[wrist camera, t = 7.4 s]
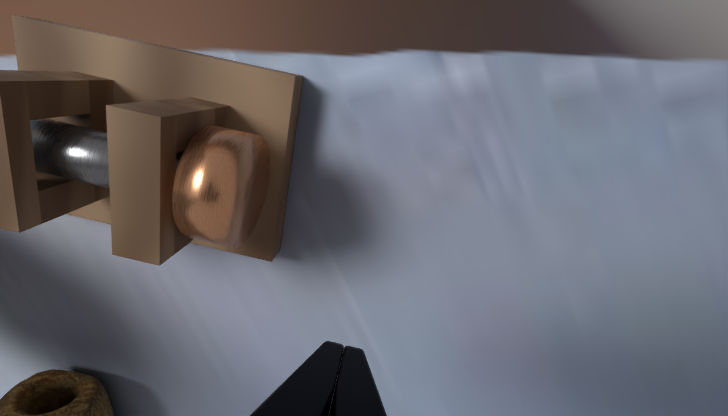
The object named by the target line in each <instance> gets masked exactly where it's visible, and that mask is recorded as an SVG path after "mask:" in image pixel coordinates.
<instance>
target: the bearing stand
mask: <svg viewBox="0 0 728 416" xmlns="http://www.w3.org/2000/svg"><path fill="white" fill-rule="evenodd" d="M12 23H13V31H14V39H15V47H16V56H17V64H18V71H13V70H0V228H2V229H6V230H10V231H14V232H19V233H20V232H22V231H25V230H27V229H30V228H32V227H35V226H37V225H40V224H42V223H45V222H47V221H50V220H52V219H54V218H57V217H59V216H62V215H64V214H68V215H73V216H77V217H81V218H86V219H90V220H94V221H99V222H103V223H107V224H111V232H112V255H117V256H121V257H125V258H129V259H134V260H138V261H142V262H147V263H151V264H155V265H159V266H160V265H161V264H162V263H164V262H165V261H166V260H167V259H169V258H170V257H171V256H173V255H174V254H175V253H177V252H178V251H179V250H180V249H182V248H183V247H184V246H186V245H187V244H188V243H194V244H198V245H202V246H206V247H211V248H215V249H219V250H224V251H228V252H232V253H237V254H241V255H245V256H250V257H254V258H258V259H263V260H267V261H271V262H272V260H273V259H274V257H275V256H276V255H277V253H278V252H279V251H280V246H281V238H282V231H283V224H284V216H285V209H286V201H287V194H288V186H289V179H290V172H291V164H292V157H293V149H294V142H295V134H296V127H297V119H298V112H299V105H300V97H301V90H302V82H303V76H301V75H296V74H291V73H287V72H282V71H278V70H273V69H268V68H264V67H259V66H254V65H250V64H245V63H241V62H236V61H231V60H227V59H222V58H217V57H213V56H208V55H203V54H199V53H194V52H190V51H185V50H180V49H176V48H171V47H166V46H161V45H157V44H153V43H148V42H143V41H138V40H134V39H129V38H124V37H120V36H115V35H111V34H106V33H101V32H97V31H92V30H88V29H83V28H78V27H74V26H69V25H64V24H60V23H55V22H51V21H46V20H41V19H35V18H29V17H23V16H16V15H12ZM46 118H47V119H51V120H56V121H60V122H65V123H69V124H74V125H78V126H83V127H87V128H91V129H96V130H100V131H105V132H107V141H108V164H109V187H110V188H107V187H103V186H98V185H94V184H89V183H85V182H81V181H76V180H72V179H68V178H63V177H59V176H54V175H50V174H46V173H41V172H37V171H36V169H35V161H34V152H33V143H32V135H31V126H30V120H38V119H46ZM209 125H215V126H219V127H224V128H229V129H233V130H238V131H242V132H247V133H251V134H256V135H260V136H262V137H263V138H264V139H265V140H266V142H267V145H268V149H269V155H270V173H269V182H268V188H267V193H266V197H265V201H264V205H263V208H262V211H261V214H260V216H259V219H258V221H257V224H256V226H255V228H254V230H253V231H252V233H251V235H250V236H249V238H248V239H247V240H246V241H245V243H243V244H242V245H241V246H239V247H237V248H232V247H228V246H224V245H219V244H215V243H211V242H206V241H202V240H198V239H193V238H189V237H186V236H184V235H183V234H182V233H181V232H180V231H179V230H178V228H177V226H176V223H175V220H174V216H173V209H172V194H173V185H174V180H175V175H176V153H179V152H182V151H184V150H185V148H186V147H187V145H188V143H189V142H190V140H191V139H192V138H193V136H194V135H195V134H196V133H197V132H198V131H199V130H201V129H202V128H204V127H206V126H209Z"/></svg>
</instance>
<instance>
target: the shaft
mask: <svg viewBox="0 0 728 416" xmlns="http://www.w3.org/2000/svg"><path fill="white" fill-rule="evenodd" d="M30 126H31V135H32V143H33V152H34V161H35V169H36V171H37V172H41V173H46V174H50V175H54V176H59V177H63V178H68V179H72V180H76V181H81V182H85V183H89V184H94V185H98V186H103V187H107V188H110V187H109V164H108V141H107V132H105V131H100V130H96V129H91V128H87V127H83V126H78V125H74V124H69V123H65V122H60V121H56V120H51V119H47V118H46V119H38V120H30ZM269 173H270V155H269V149H268V145H267V142H266V140H265V139H264V138H263V137H262V136H260V135H256V134H251V133H247V132H242V131H238V130H233V129H229V128H224V127H219V126H215V125H209V126H206V127H204V128H202V129H201V130H199V131H198V132H197V133H196V134H195V135H194V136H193V138H192V139H191V140H190V142H189V143H188V145H187V147H186V148H185V150H184V151H182V152H179V153H176V175H175V180H174V185H173V194H172V209H173V216H174V220H175V223H176V226H177V228H178V230H179V231H180V232H181V233H182V234H183V235H184V236H186V237H189V238H193V239H198V240H202V241H206V242H211V243H215V244H219V245H224V246H228V247H232V248H237V247H239V246H241V245H242V244H243V243H245V241H246V240H247V239H248V238H249V236H250V235H251V233H252V231H253V230H254V228H255V226H256V224H257V221H258V219H259V216H260V214H261V211H262V208H263V205H264V201H265V197H266V193H267V188H268V182H269Z"/></svg>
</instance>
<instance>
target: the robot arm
mask: <svg viewBox="0 0 728 416" xmlns="http://www.w3.org/2000/svg"><path fill="white" fill-rule="evenodd" d="M343 349H344V350H343ZM342 354H343V355H342ZM341 358H342V359H341ZM340 363H341V364H340ZM339 367H340V368H339ZM338 371H339V372H338ZM337 376H338V377H337ZM336 380H337V381H336ZM335 385H336V386H335ZM334 389H335V390H334ZM333 393H334V395H333ZM332 398H333V399H332ZM331 402H332V403H331ZM330 407H331V408H330ZM329 411H330V412H329ZM328 415H329V416H387V415H386V412H385V409H384V407H383V404H382V401H381V398H380V395H379V393H378V390H377V387H376V384H375V381H374V379H373V376H372V373H371V370H370V367H369V365H368V362H367V359H366V356H365V353H364V351H363V350H362V349H360V348H356V347H351V346H345V347H344V346H343V345H342V344H339V343H335V342H330V341H326V342H324V343H323V344H322V345H321V346H320V347H319V348H318V349H317V350H316V351H315V352H314V353H313V354H312V355H311V356H310V357H309V358H308V359H307V360H306V361H305V362H304V363H303V364H302V365H301V366H300V367H299V368H298V369H297V370H296V371H295V372H294V373H293V374H292V375H291V376H290V377H289V378H288V379H287V380H286V381H285V382H284V383H283V384H282V385H280V386H279V387H278V388H277V389H276V390H275V391H274V392H273V393H272V394H271V395H270V396H269V397H268V398H267V399H266V400H265V401H264V402H263V403H262V404H261V405H260V406H259V407H258V408H257V409H256V410H255V411H254V412H253V413H252V414H251V415H250V416H328Z"/></svg>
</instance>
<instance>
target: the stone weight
mask: <svg viewBox="0 0 728 416" xmlns="http://www.w3.org/2000/svg"><path fill="white" fill-rule="evenodd" d="M0 416H114V413H113V409H112V405H111V402H110V400H109V397H108V395H107V393H106V391H105V389H104V387H103V385H102V384H101V382H100V381H99V380H98V379H97V378H96V377H93V376H91V375H86V374H83V373H80V372H72V371H64V370H48V371H43V372H40V373H37V374H35V375H33V376H31V377H29V378H28V379H26V380H24V381H22V382H20V383H19V384H17V385H16V386H14V387H13V388H12V389H11V390H10V391H8V392H7V393H6V394H5V395H4V396H3V397H2V398H1V399H0Z"/></svg>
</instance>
